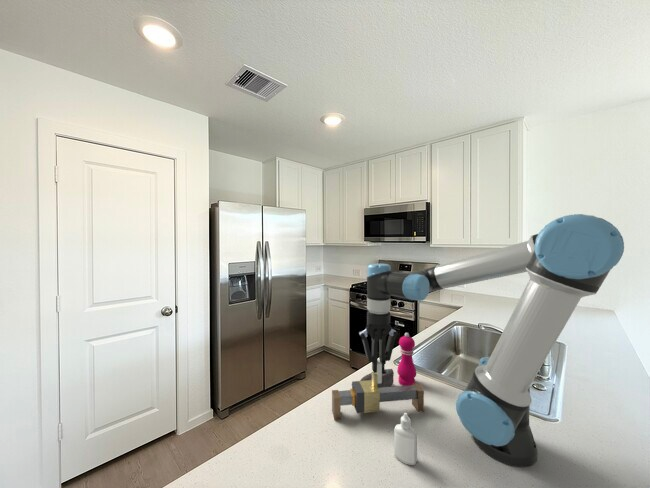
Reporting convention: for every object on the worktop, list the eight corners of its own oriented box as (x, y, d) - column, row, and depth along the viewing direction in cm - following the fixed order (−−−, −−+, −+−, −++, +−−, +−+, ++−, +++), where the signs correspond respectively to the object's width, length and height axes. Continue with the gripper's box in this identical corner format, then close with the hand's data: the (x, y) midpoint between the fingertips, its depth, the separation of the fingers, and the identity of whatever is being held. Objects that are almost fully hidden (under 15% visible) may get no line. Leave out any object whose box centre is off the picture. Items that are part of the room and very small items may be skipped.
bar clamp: (417, 403, 92) (417, 382, 92) (423, 411, 88) (423, 390, 87) (332, 410, 88) (332, 389, 88) (334, 420, 84) (334, 397, 83)
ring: (359, 400, 90) (359, 381, 90) (364, 412, 84) (364, 392, 84) (352, 400, 90) (352, 381, 90) (357, 413, 83) (356, 392, 83)
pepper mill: (417, 388, 101) (417, 336, 100) (397, 386, 102) (398, 335, 101) (415, 378, 108) (415, 330, 107) (396, 377, 109) (396, 329, 109)
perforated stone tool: (361, 397, 96) (361, 378, 96) (356, 389, 101) (356, 371, 101) (398, 390, 100) (398, 372, 99) (391, 383, 105) (391, 366, 104)
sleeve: (373, 398, 91) (373, 368, 91) (379, 411, 84) (379, 378, 84) (359, 400, 90) (359, 369, 90) (364, 412, 84) (364, 379, 83)
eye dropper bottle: (407, 470, 66) (407, 423, 65) (391, 454, 71) (391, 409, 70) (419, 463, 68) (420, 417, 67) (403, 447, 73) (403, 405, 72)
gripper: (393, 307, 91) (392, 374, 92) (356, 308, 90) (356, 376, 91) (402, 313, 84) (401, 386, 85) (362, 315, 82) (362, 389, 83)
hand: (378, 381), depth 88 cm, fingers closed
